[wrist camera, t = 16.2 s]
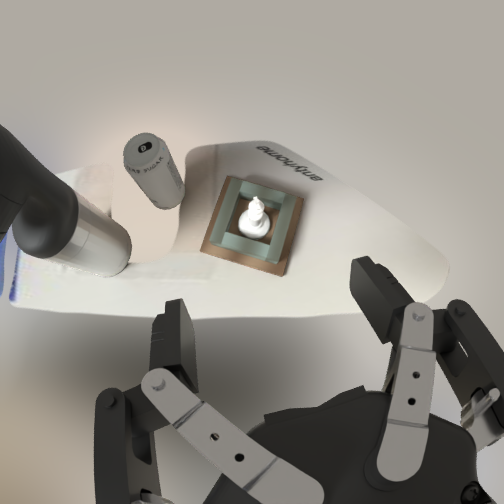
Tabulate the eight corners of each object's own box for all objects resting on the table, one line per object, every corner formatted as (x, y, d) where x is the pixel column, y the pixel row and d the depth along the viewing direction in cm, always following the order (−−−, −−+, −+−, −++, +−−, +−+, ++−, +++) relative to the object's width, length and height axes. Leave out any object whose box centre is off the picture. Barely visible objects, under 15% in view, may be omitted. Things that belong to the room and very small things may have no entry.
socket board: (200, 251, 44) (196, 246, 40) (227, 178, 47) (226, 167, 43) (281, 276, 44) (285, 273, 40) (302, 200, 47) (307, 191, 43)
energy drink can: (147, 187, 46) (114, 142, 32) (179, 172, 47) (157, 121, 32) (158, 217, 45) (125, 178, 31) (191, 202, 46) (171, 156, 31)
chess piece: (242, 243, 44) (242, 224, 34) (234, 213, 45) (232, 187, 35) (274, 235, 44) (282, 214, 34) (264, 206, 45) (270, 178, 35)
